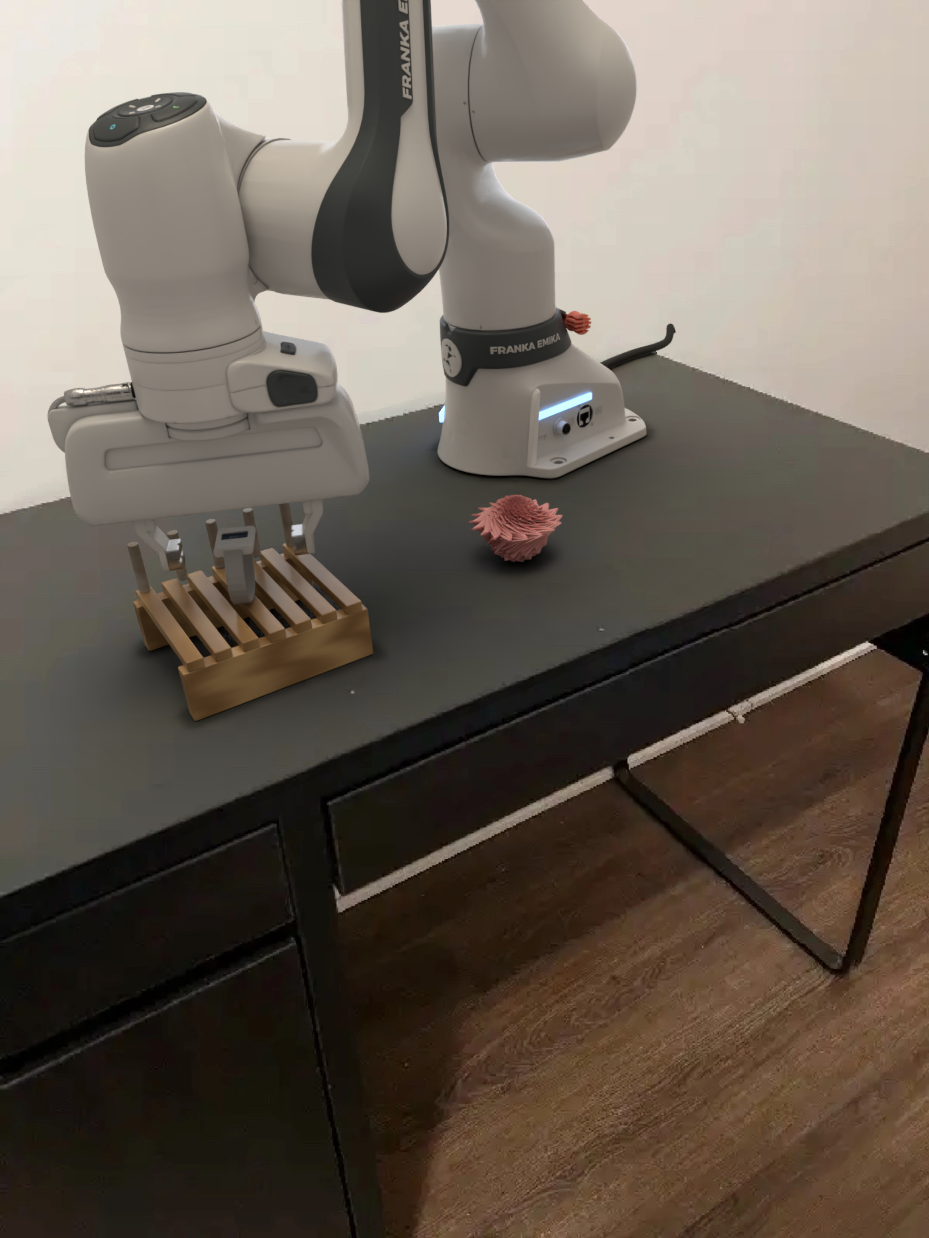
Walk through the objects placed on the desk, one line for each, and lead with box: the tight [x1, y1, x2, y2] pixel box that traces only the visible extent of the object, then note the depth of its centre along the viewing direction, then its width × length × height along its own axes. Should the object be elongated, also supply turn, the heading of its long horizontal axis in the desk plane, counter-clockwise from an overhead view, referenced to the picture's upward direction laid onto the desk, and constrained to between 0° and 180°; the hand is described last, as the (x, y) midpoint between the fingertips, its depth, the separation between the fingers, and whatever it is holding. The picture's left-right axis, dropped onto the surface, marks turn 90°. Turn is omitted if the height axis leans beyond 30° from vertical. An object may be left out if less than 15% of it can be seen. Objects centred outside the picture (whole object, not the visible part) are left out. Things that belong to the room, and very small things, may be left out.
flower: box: [467, 494, 563, 563], centre depth 87 cm, size 8×8×6 cm
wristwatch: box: [214, 525, 257, 604], centre depth 75 cm, size 6×3×5 cm, turn 7°
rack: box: [126, 503, 374, 722], centre depth 76 cm, size 14×12×9 cm
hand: (240, 559), depth 75 cm, fingers open, 8 cm apart
